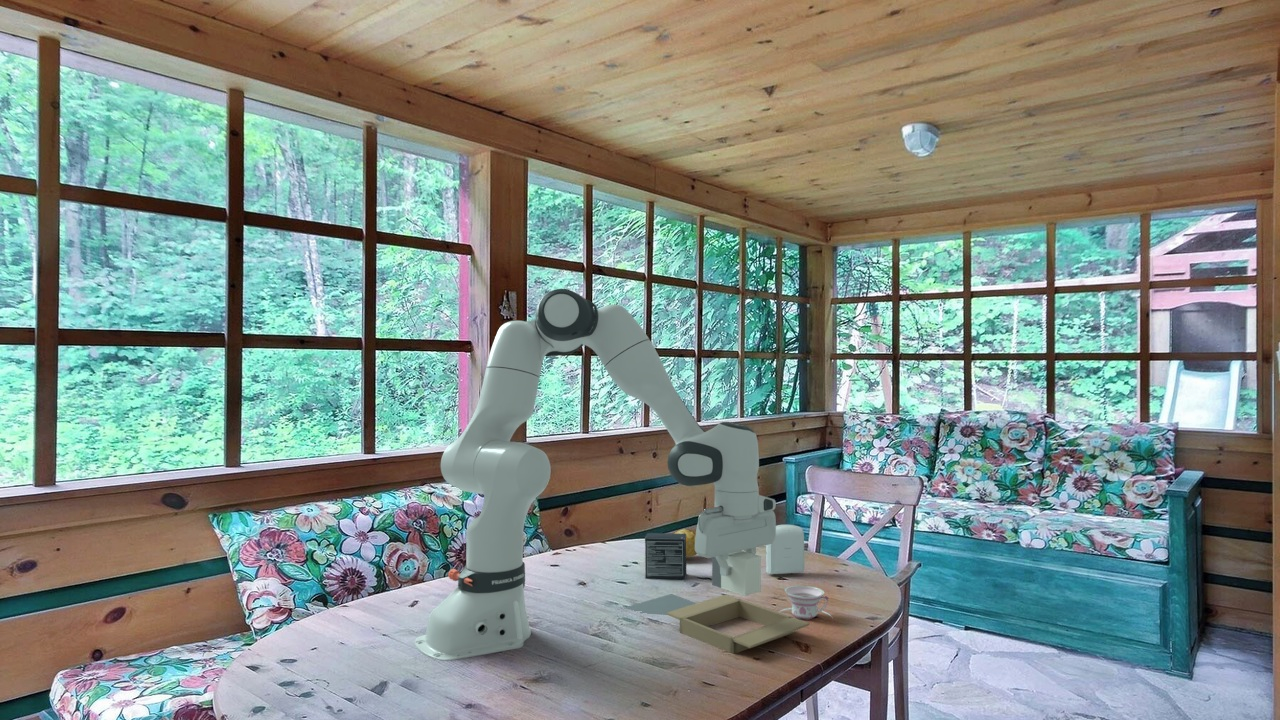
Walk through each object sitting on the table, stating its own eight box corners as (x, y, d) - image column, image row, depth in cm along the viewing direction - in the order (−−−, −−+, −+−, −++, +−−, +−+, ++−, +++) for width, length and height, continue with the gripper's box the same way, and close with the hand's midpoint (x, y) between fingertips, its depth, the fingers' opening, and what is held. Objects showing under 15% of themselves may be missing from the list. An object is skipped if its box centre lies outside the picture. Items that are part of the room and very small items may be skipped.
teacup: (772, 625, 152) (772, 596, 152) (781, 607, 164) (781, 579, 164) (830, 632, 148) (830, 602, 148) (836, 613, 160) (835, 585, 160)
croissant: (650, 572, 200) (655, 552, 196) (639, 545, 208) (643, 525, 204) (719, 561, 208) (725, 541, 203) (706, 536, 215) (711, 516, 211)
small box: (687, 572, 190) (686, 532, 190) (686, 580, 183) (686, 538, 183) (646, 571, 191) (646, 531, 191) (644, 578, 184) (644, 537, 184)
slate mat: (664, 626, 152) (664, 623, 152) (625, 609, 162) (625, 607, 162) (711, 611, 161) (711, 608, 161) (671, 596, 171) (671, 593, 171)
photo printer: (769, 575, 187) (769, 527, 187) (763, 570, 191) (763, 524, 191) (806, 573, 189) (806, 526, 189) (800, 568, 193) (800, 522, 193)
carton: (750, 668, 131) (750, 646, 131) (666, 632, 148) (666, 612, 148) (809, 643, 142) (809, 623, 142) (725, 612, 160) (725, 594, 160)
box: (745, 596, 140) (745, 559, 140) (712, 584, 147) (712, 550, 147) (760, 591, 143) (760, 556, 143) (727, 580, 150) (727, 547, 150)
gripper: (710, 512, 136) (710, 586, 136) (781, 500, 149) (780, 567, 149) (687, 507, 141) (687, 578, 141) (758, 495, 154) (757, 560, 154)
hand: (736, 572), depth 145 cm, fingers closed on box, 4 cm apart
